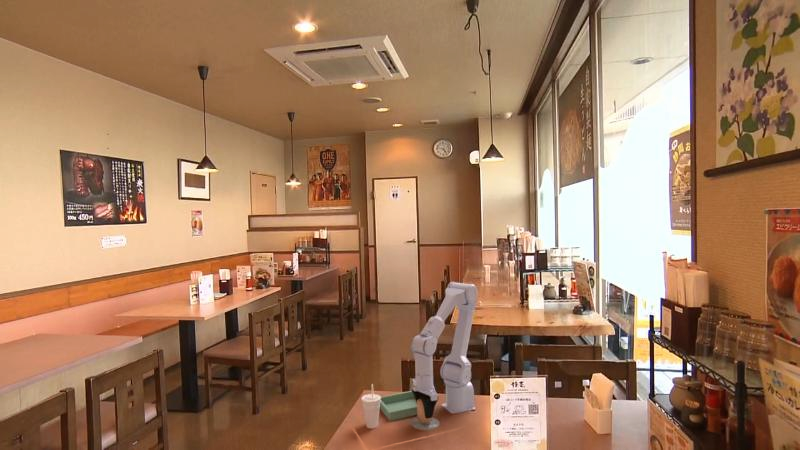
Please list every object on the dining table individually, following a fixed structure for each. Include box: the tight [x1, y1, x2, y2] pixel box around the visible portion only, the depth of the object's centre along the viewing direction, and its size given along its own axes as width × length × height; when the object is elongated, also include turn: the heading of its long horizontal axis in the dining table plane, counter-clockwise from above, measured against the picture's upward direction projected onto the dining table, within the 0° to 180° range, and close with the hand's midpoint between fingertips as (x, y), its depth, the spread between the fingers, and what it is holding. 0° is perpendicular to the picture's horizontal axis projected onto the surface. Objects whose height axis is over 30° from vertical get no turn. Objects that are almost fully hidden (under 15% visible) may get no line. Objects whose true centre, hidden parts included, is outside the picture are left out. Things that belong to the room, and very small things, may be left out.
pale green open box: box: [379, 390, 417, 422], centre depth 152 cm, size 16×13×3 cm
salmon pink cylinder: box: [416, 399, 433, 423], centre depth 141 cm, size 5×5×6 cm
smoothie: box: [360, 383, 382, 429], centre depth 140 cm, size 6×6×14 cm
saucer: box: [411, 417, 440, 431], centre depth 141 cm, size 9×9×1 cm
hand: (425, 414), depth 141 cm, fingers closed on salmon pink cylinder, 5 cm apart
